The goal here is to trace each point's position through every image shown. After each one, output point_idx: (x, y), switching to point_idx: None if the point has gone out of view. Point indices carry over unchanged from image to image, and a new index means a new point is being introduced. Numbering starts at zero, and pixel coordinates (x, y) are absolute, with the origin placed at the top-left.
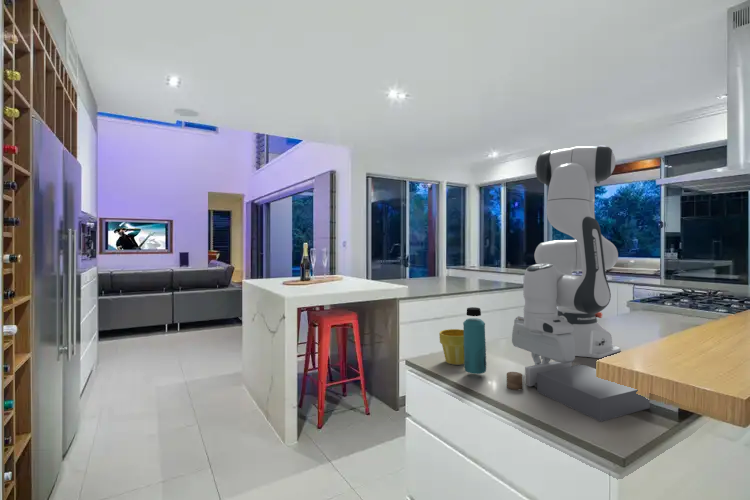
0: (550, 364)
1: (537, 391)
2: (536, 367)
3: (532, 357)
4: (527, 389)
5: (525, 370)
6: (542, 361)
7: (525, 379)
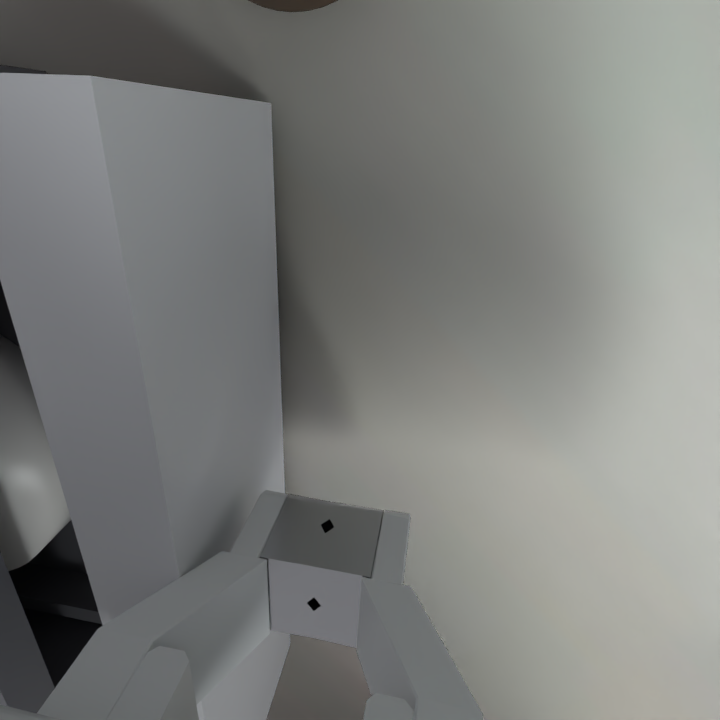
0: (109, 611)
1: (40, 72)
2: (11, 310)
3: (452, 673)
4: (154, 10)
5: (140, 83)
6: (178, 610)
7: (236, 98)
